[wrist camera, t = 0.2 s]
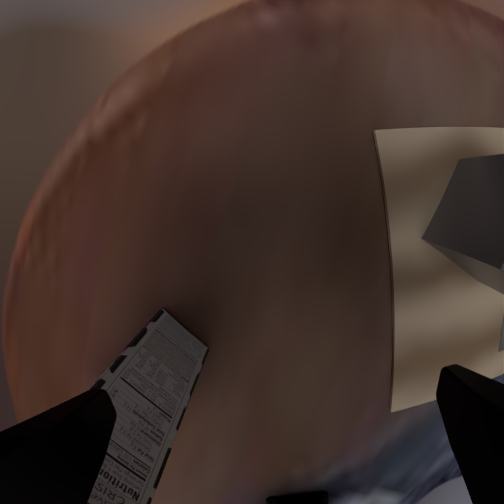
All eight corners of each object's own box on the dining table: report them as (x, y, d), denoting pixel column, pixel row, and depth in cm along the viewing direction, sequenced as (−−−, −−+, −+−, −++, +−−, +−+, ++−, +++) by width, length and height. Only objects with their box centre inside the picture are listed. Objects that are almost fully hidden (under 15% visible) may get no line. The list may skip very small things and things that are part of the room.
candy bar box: (142, 419, 25) (65, 558, 9) (99, 384, 24) (-4, 508, 8) (216, 347, 23) (141, 546, 6) (163, 303, 22) (17, 462, 6)
